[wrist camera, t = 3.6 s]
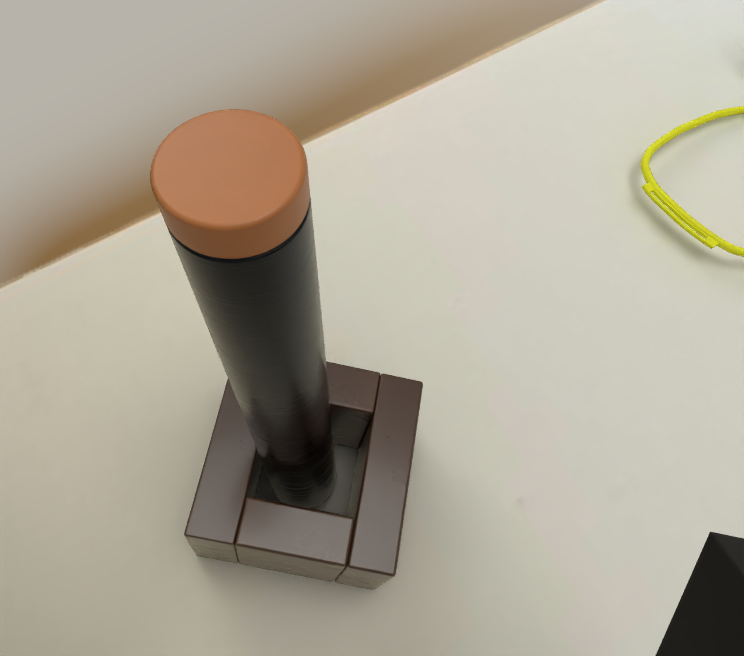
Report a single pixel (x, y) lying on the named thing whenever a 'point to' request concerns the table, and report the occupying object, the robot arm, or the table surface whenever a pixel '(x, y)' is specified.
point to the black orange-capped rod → (256, 283)
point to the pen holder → (303, 525)
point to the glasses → (652, 186)
